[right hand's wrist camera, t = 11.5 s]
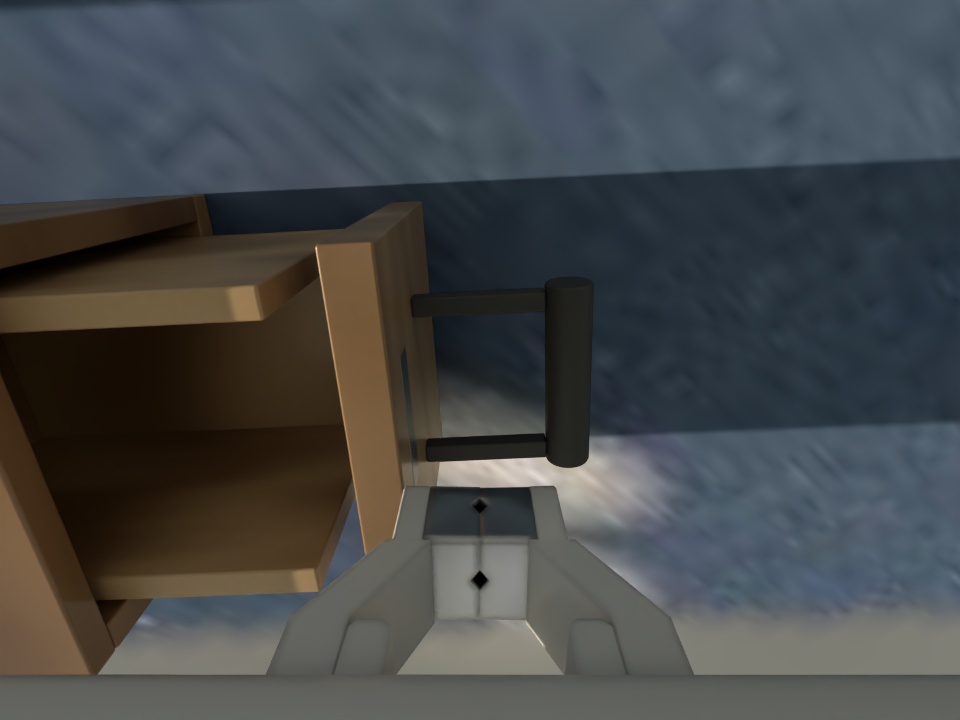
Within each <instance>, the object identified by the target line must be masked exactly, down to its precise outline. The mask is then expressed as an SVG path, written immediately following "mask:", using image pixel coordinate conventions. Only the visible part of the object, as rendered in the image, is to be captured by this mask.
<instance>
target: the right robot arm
mask: <svg viewBox="0 0 960 720" xmlns="http://www.w3.org/2000/svg"><path fill="white" fill-rule="evenodd" d="M460 619H499V620H526V623H527V625H528V626H529V627H530V629H531V630H532V632H533V633H534V634H535V636H536V637H537V638H538V640H539V641H540V643H541V644H542V645H543V647H544V648H545V649H546V651H547V652H548V653H549V655H550V656H551V658H552V659H553V660H554V662H555V663H556V664H557V666H558V667H559V668H560V670H561V671H562V673H563V674H564V675H396V674H397V673H398V672H399V670H400V669H401V667H402V666H403V665H404V663H405V662H406V661H407V659H408V658H409V657H410V655H411V654H412V653H413V651H414V650H415V648H416V647H417V646H418V644H419V643H420V642H421V640H422V639H423V638H424V636H425V635H426V634H427V632H428V631H429V629H430V628H431V627H432V625H433V624H434V620H460ZM0 720H960V675H694V673H693V671H692V668H691V666H690V663H689V661H688V658H687V656H686V654H685V651H684V649H683V646H682V644H681V641H680V639H679V637H678V634H677V632H676V629H675V627H674V624H673V622H672V620H671V617H670V616H668V615H667V614H666V613H665V612H663V611H662V610H661V609H660V608H659V607H657V606H656V605H655V604H654V603H652V602H651V601H650V600H649V599H648V598H646V597H645V596H644V595H643V594H641V593H640V592H639V591H638V590H636V589H635V588H634V587H633V586H632V585H630V584H629V583H628V582H627V581H625V580H624V579H623V578H622V577H621V576H619V575H618V574H617V573H616V572H614V571H613V570H612V569H611V568H610V567H608V566H607V565H606V564H605V563H603V562H602V561H601V560H600V559H599V558H597V557H596V556H595V555H594V554H592V553H591V552H590V551H589V550H587V549H586V548H585V547H584V546H583V545H581V544H580V543H579V542H578V541H576V540H568V537H567V533H566V529H565V525H564V520H563V516H562V512H561V507H560V503H559V499H558V495H557V490H556V488H555V487H554V486H532V487H506V488H480V487H444V486H431V487H430V486H406V487H405V489H404V490H403V494H402V498H401V503H400V507H399V511H398V516H397V520H396V524H395V529H394V533H393V537H392V540H384V541H382V542H381V543H380V544H379V545H377V546H376V547H375V548H374V549H372V550H371V551H370V552H369V553H368V554H366V555H365V556H364V557H363V558H361V559H360V560H359V561H358V562H356V563H355V564H354V565H353V566H352V567H350V568H349V569H348V570H347V571H345V572H344V573H343V574H342V575H340V576H339V577H338V578H337V579H336V580H334V581H333V582H332V583H331V584H329V585H328V586H327V587H326V588H324V589H323V590H322V591H321V592H320V593H318V594H317V595H316V596H315V597H313V598H312V599H311V600H310V601H308V602H307V603H306V604H305V605H304V606H302V607H301V608H300V609H299V610H297V611H296V612H295V613H294V614H292V615H291V616H290V618H289V620H288V623H287V625H286V627H285V630H284V632H283V635H282V637H281V639H280V642H279V644H278V647H277V649H276V651H275V654H274V656H273V659H272V661H271V663H270V666H269V668H268V671H267V673H266V675H0Z"/></svg>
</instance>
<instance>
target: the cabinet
mask: <svg viewBox="0 0 960 720" xmlns="http://www.w3.org/2000/svg"><path fill="white" fill-rule="evenodd" d="M198 236H214V235H213V230H212V226H211V222H210V217H209V213H208V209H207V204H206V200H205V196H204V195H203V194H194V195H175V196H156V197H137V198H119V199H100V200H81V201H62V202H43V203H25V204H6V205H0V269H3V268H7V267H11V266H15V265H19V264H24V263H28V262H32V261H36V260H40V259H44V258H48V257H52V256H56V255H61V254H65V253H69V252H73V251H77V250H81V249H85V248H89V247H94V246H98V245H102V244H106V243H110V242H114V241H120V240H140V239H159V238H178V237H198ZM152 600H153V598H146V599H121V600H95V598H94V596H93V593H92V591H91V588H90V586H89V584H88V581H87V579H86V576H85V574H84V572H83V569H82V567H81V564H80V562H79V560H78V557H77V555H76V552H75V550H74V548H73V545H72V543H71V540H70V538H69V536H68V533H67V531H66V528H65V526H64V524H63V521H62V519H61V516H60V514H59V512H58V509H57V507H56V504H55V502H54V500H53V497H52V495H51V492H50V490H49V488H48V485H47V483H46V480H45V478H44V476H43V473H42V471H41V469H40V466H39V464H38V461H37V459H36V457H35V454H34V452H33V449H32V447H31V445H30V442H29V440H28V437H27V435H26V433H25V430H24V428H23V425H22V423H21V421H20V418H19V416H18V413H17V411H16V409H15V406H14V404H13V401H12V399H11V397H10V394H9V392H8V389H7V387H6V385H5V382H4V380H3V377H2V375H1V373H0V675H97V674H98V673H99V672H100V670H101V669H102V668H103V666H104V665H105V664H106V662H107V661H108V659H109V658H110V657H111V655H112V654H113V653H114V651H115V648H116V647H118V646H119V645H120V644H121V642H122V641H123V639H124V638H125V637H126V635H127V634H128V633H129V631H130V630H131V629H132V627H133V626H134V624H135V623H136V622H137V620H138V619H139V618H140V616H141V615H142V613H143V612H144V611H145V609H146V608H147V607H148V605H149V604H150V603H151V601H152Z"/></svg>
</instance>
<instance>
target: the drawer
mask: <svg viewBox="0 0 960 720" xmlns="http://www.w3.org/2000/svg"><path fill="white" fill-rule="evenodd" d="M593 292H594V284H593V282H592V281H591V280H589V279H586V278H581V277H559V278H554V279H551V280H548V281H547V282H546V283H545V291H544V289H543V288H526V289H505V290H485V291H465V292H445V293H430V290H429V278H428V267H427V255H426V244H425V232H424V221H423V209H422V202H421V201H411V202H392V203H389V204H388V205H386V206H384V207H382V208H380V209H379V210H377V211H375V212H373V213H372V214H370V215H368V216H366V217H364V218H363V219H361V220H359V221H357V222H356V223H354V224H352V225H350V226H349V227H347V228H345V229H333V230H313V231H294V232H275V233H255V234H236V235H217V236H198V237H178V238H159V239H140V240H120V241H114V242H110V243H106V244H102V245H98V246H94V247H89V248H85V249H81V250H77V251H73V252H69V253H65V254H61V255H56V256H52V257H48V258H44V259H40V260H36V261H32V262H28V263H24V264H19V265H15V266H11V267H7V268H3V269H0V373H1V375H2V377H3V380H4V382H5V385H6V387H7V389H8V392H9V394H10V397H11V399H12V401H13V404H14V406H15V409H16V411H17V413H18V416H19V418H20V421H21V423H22V425H23V428H24V430H25V433H26V435H27V437H28V440H29V442H30V445H31V447H32V449H33V452H34V454H35V457H36V459H37V461H38V464H39V466H40V469H41V471H42V473H43V476H44V478H45V480H46V483H47V485H48V488H49V490H50V492H51V495H52V497H53V500H54V502H55V504H56V507H57V509H58V512H59V514H60V516H61V519H62V521H63V524H64V526H65V528H66V531H67V533H68V536H69V538H70V540H71V543H72V545H73V548H74V550H75V552H76V555H77V557H78V560H79V562H80V564H81V567H82V569H83V572H84V574H85V576H86V579H87V581H88V584H89V586H90V588H91V591H92V593H93V596H94V598H95V600H121V599H146V598H171V597H196V596H221V595H246V594H271V593H296V592H318V591H320V590H321V588H322V585H323V582H324V580H325V577H326V574H327V571H328V569H329V566H330V563H331V560H332V558H333V555H334V552H335V549H336V547H337V544H338V541H339V538H340V536H341V533H342V530H343V527H344V525H345V522H346V519H347V516H348V514H349V511H350V508H351V505H352V502H353V500H354V497H355V495H356V501H357V507H358V513H359V519H360V525H361V531H362V537H363V544H364V550H365V555H366V554H368V553H369V552H370V551H371V550H372V549H374V548H375V547H376V546H377V545H379V544H380V543H381V542H382V541H384V540H392V537H393V533H394V529H395V524H396V520H397V516H398V511H399V507H400V503H401V498H402V494H403V490H404V489H405V487H406V486H430V487H431V486H437V478H438V470H439V463H440V462H445V461H467V460H490V459H513V458H535V457H546V458H547V459H548V461H549V462H550V463H552V464H553V465H556V466H559V467H564V468H573V467H578V466H581V465H583V464H584V463H586V461H587V460H588V457H589V428H590V394H591V360H592V326H593ZM544 311H545V430H546V438H545V434H544V433H538V434H515V435H493V436H471V437H448V438H442V427H441V416H440V404H439V393H438V381H437V370H436V358H435V347H434V335H433V324H432V317H443V316H463V315H484V314H504V313H525V312H544Z"/></svg>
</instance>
